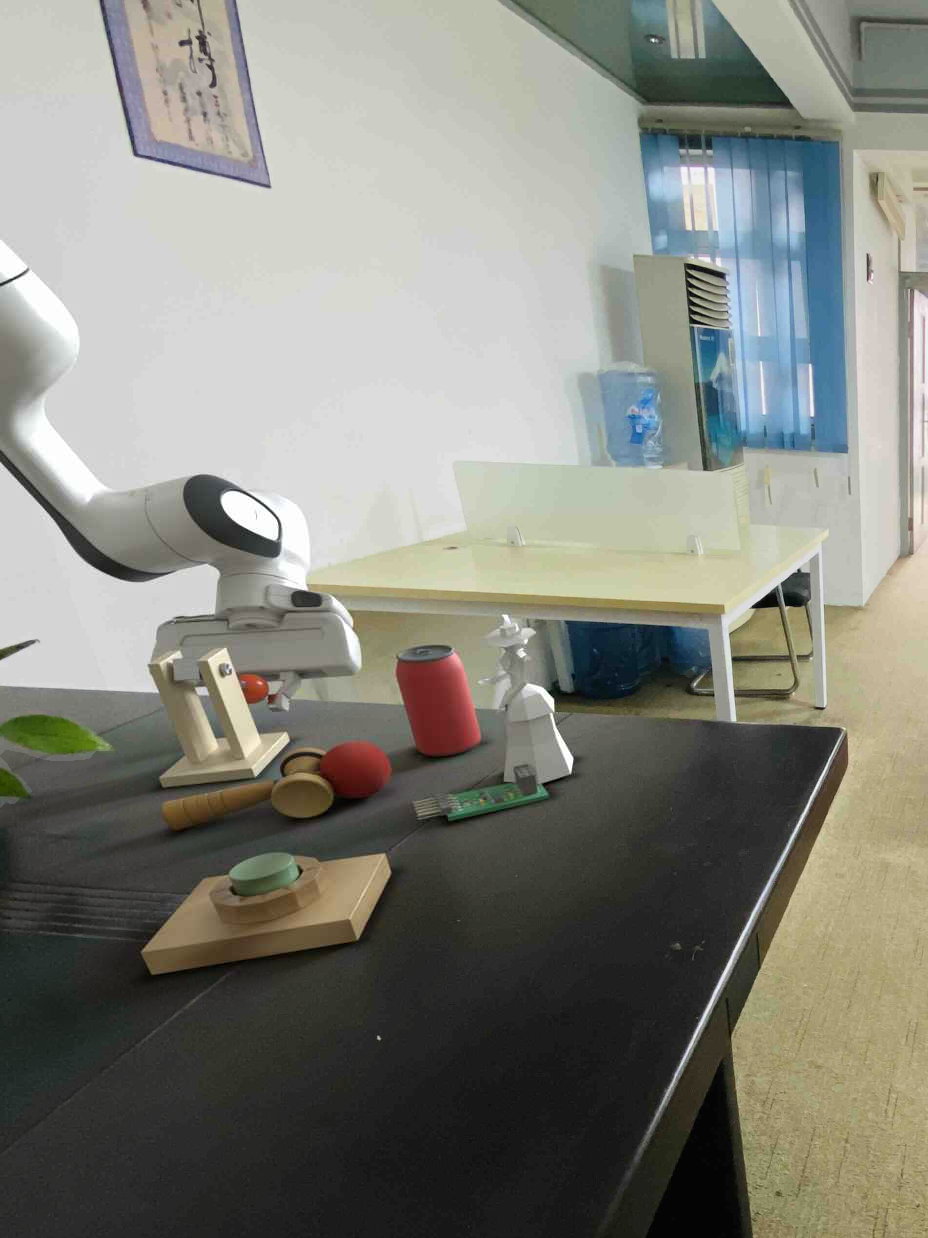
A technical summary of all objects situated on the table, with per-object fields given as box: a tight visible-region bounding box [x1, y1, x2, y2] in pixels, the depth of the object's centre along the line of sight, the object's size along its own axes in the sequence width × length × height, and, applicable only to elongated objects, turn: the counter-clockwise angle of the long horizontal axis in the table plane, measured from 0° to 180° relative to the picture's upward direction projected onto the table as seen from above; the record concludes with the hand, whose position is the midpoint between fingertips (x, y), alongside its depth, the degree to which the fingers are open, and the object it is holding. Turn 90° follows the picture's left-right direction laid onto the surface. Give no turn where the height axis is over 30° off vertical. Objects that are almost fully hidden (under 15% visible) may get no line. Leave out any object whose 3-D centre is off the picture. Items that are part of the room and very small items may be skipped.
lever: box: [172, 657, 270, 705], centre depth 92 cm, size 14×4×4 cm, turn 19°
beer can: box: [395, 644, 482, 757], centre depth 94 cm, size 7×7×12 cm
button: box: [228, 852, 300, 897], centre depth 65 cm, size 4×4×2 cm
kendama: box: [160, 741, 393, 832], centre depth 82 cm, size 8×6×18 cm
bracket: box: [146, 648, 290, 788], centre depth 88 cm, size 10×8×13 cm
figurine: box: [476, 614, 574, 784], centre depth 88 cm, size 7×8×18 cm
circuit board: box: [412, 764, 550, 822], centre depth 84 cm, size 12×3×5 cm
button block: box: [140, 853, 392, 976], centre depth 66 cm, size 13×10×4 cm
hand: (257, 711), depth 98 cm, fingers closed on lever, 3 cm apart
